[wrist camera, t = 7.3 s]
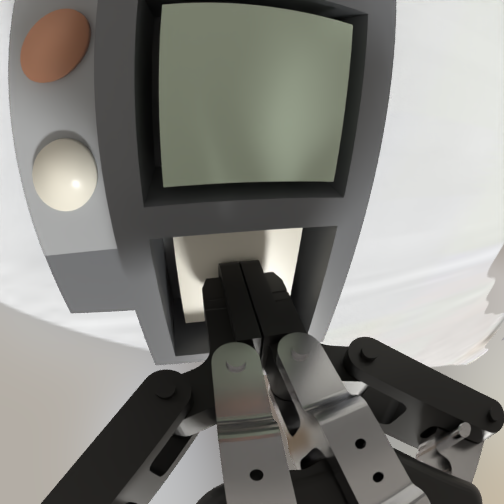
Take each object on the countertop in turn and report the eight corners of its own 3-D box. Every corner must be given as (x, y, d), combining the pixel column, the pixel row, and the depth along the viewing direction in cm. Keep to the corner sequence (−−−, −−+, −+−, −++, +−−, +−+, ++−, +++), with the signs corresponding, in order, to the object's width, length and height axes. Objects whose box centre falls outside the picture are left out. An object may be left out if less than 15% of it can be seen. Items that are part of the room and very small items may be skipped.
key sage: (319, 31, 6) (353, 25, 5) (306, 160, 9) (333, 181, 8) (167, 21, 5) (162, 5, 4) (167, 163, 8) (163, 187, 7)
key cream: (286, 199, 12) (303, 222, 10) (275, 282, 14) (286, 310, 13) (173, 205, 11) (172, 232, 9) (183, 291, 13) (185, 323, 12)
